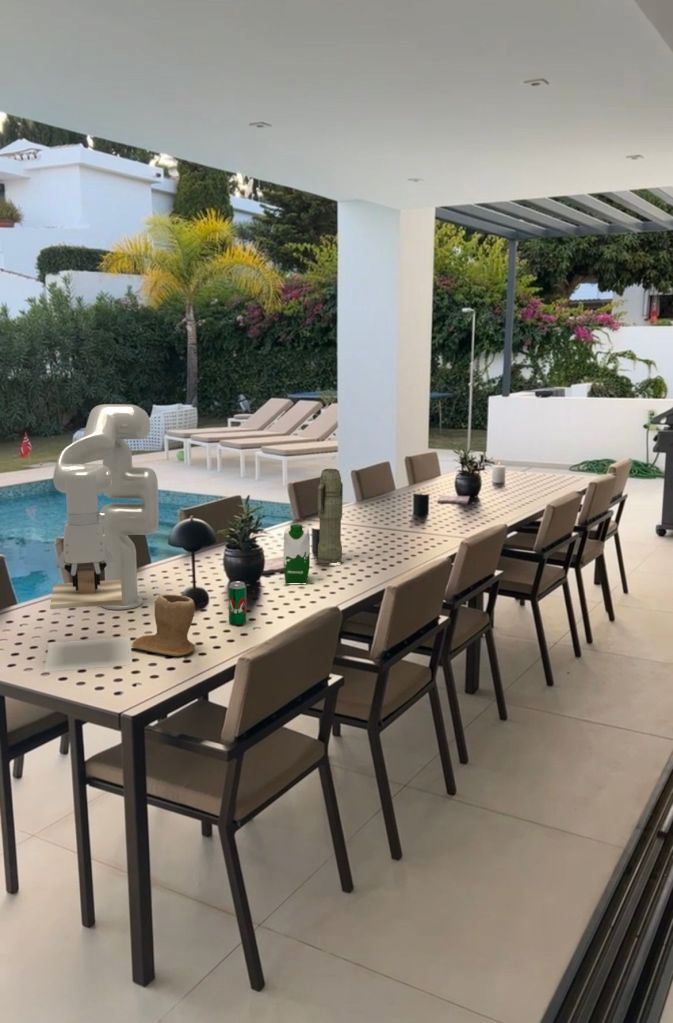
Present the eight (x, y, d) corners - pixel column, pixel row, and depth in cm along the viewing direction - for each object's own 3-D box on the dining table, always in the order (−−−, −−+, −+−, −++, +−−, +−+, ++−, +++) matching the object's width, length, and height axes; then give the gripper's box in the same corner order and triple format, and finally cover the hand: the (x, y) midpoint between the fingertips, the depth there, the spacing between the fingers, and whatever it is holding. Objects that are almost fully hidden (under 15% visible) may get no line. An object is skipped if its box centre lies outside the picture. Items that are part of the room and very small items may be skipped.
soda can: (246, 620, 250) (246, 580, 248) (245, 626, 246) (245, 585, 243) (229, 620, 250) (229, 580, 248) (228, 626, 245) (227, 585, 243)
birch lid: (54, 588, 225) (52, 562, 223) (120, 584, 229) (119, 558, 227) (50, 609, 209) (48, 580, 207) (122, 604, 213) (120, 576, 211)
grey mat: (49, 644, 229) (49, 642, 229) (130, 638, 234) (129, 636, 234) (44, 674, 209) (43, 671, 209) (132, 666, 214) (132, 664, 214)
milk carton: (282, 585, 287) (282, 526, 283) (284, 577, 296) (284, 521, 292) (308, 585, 287) (309, 527, 283) (310, 578, 296) (310, 521, 292)
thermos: (310, 564, 313) (310, 470, 307) (329, 558, 323) (329, 466, 316) (330, 568, 308) (331, 472, 302) (348, 562, 318) (349, 468, 311)
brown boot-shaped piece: (205, 648, 228) (204, 593, 225) (179, 662, 217) (177, 606, 214) (158, 639, 234) (156, 586, 231) (130, 653, 223) (128, 598, 220)
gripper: (117, 513, 220) (120, 582, 224) (48, 516, 216) (53, 586, 220) (117, 520, 213) (120, 590, 217) (47, 523, 209) (51, 595, 213)
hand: (86, 587), depth 218 cm, fingers closed on birch lid, 4 cm apart
